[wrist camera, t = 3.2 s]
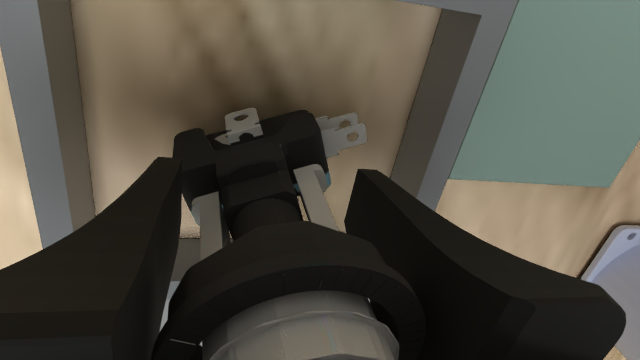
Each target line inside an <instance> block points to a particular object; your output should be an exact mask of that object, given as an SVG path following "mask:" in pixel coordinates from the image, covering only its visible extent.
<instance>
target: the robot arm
mask: <svg viewBox="0 0 640 360" xmlns="http://www.w3.org/2000/svg"><path fill="white" fill-rule="evenodd" d="M181 196H182V158H166V157H158V158H157V159H156V160H154V161H153V163H152V164H151V165H150V166H149V167H148V168H147V170H146V171H145V172H144V173H143V174H142V175H141V176H140V177H139V178H138V179H137V180H136V181H135V182H134V183H133V184H132V185H131V186H130V187H129V188H128V189H127V190H126V191H125V192H124V193H123V194H122V195H121V196H120V197H119V198H117V199H116V200H115V201H114V202H113V203H112V204H110V205H109V206H108V207H107V208H106V209H104V210H103V211H102V212H101V213H100V214H98V215H97V216H96V217H94V218H93V219H92V220H90V221H89V222H88V223H86V224H85V225H83V226H82V227H80V228H79V229H77V230H76V231H74V232H73V233H71V234H69V235H68V236H66V237H64V238H62V239H60V240H59V241H57V242H55V243H53V244H52V245H50V246H48V247H46V248H45V249H43V250H41V251H39V252H37V253H35V254H33V255H31V256H29V257H27V258H25V259H23V260H21V261H19V262H17V263H14V264H12V265H10V266H8V267H6V268H3V269H1V270H0V360H151V355H152V351H153V347H154V344H155V341H156V339H157V337H158V334H159V333H160V327H161V321H162V316H163V311H164V307H165V303H166V298H167V294H168V290H169V285H170V281H171V277H172V273H173V268H174V264H175V260H176V255H177V251H178V245H179V235H180V225H181ZM344 223H345V228H346V233H347V234H349V235H352V236H355V237H358V238H361V239H364V240H367V241H369V242H371V243H372V244H373V245H374V246H375V248H376V249H377V251H378V252H379V254H380V256H381V257H382V259H383V260H384V262H385V263H386V265H387V266H389V267H391V268H392V269H394V270H395V271H397V272H398V273H399V274H400V275H401V276H402V277H403V278H405V279H406V281H407V282H408V283H409V285H410V286H411V287H412V289H413V291H414V293H415V295H416V296H417V298H418V300H419V302H420V304H421V306H422V308H423V311H424V314H425V320H426V333H425V338H424V342H423V345H422V348H421V351H420V353H419V355H418V357H417V359H416V360H603V359H604V357H605V356H606V355H607V354H608V353H609V351H610V350H611V349H612V348H613V347H614V346H615V347H616V348H617V349H618V351H619V352H620V353H621V354H622V355H623V356H624V357H625V358H626V360H640V226H639V225H622V226H619V227H617V228H616V229H614V231H613V232H612V233H611V235H610V236H609V238H608V239H607V241H606V242H605V243H604V245H603V246H602V248H601V249H600V251H599V252H598V254H597V255H596V257H595V258H594V260H593V261H592V262H591V264H590V265H589V267H588V268H587V270H586V271H585V273H584V274H583V276H582V277H581V279H578V278H575V277H571V276H568V275H565V274H562V273H559V272H556V271H553V270H550V269H547V268H545V267H542V266H539V265H537V264H534V263H531V262H529V261H526V260H524V259H522V258H519V257H517V256H514V255H512V254H510V253H508V252H506V251H503V250H501V249H499V248H497V247H495V246H493V245H491V244H489V243H487V242H485V241H483V240H481V239H479V238H477V237H475V236H473V235H472V234H470V233H468V232H466V231H465V230H463V229H461V228H459V227H458V226H456V225H454V224H453V223H451V222H450V221H448V220H447V219H445V218H443V217H442V216H440V215H439V214H437V213H436V212H434V211H433V210H432V209H430V208H429V207H427V206H426V205H425V204H423V203H422V202H420V201H419V200H418V199H416V198H415V197H414V196H412V195H411V194H410V193H408V192H407V191H406V190H404V189H403V188H402V187H400V186H399V185H398V184H396V183H395V182H394V181H392V180H391V179H390V178H388V177H387V176H385V175H384V174H382V173H381V172H379V171H377V170H369V169H358V171H357V175H356V178H355V182H354V186H353V190H352V194H351V197H350V201H349V205H348V209H347V213H346V217H345V220H344ZM369 300H371V299H369Z"/></svg>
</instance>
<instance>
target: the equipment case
mask: <svg viewBox="0 0 640 360" xmlns="http://www.w3.org/2000/svg"><path fill="white" fill-rule="evenodd" d="M396 1H402V2H408V3H414V4H420V5H426V6H431V7H437V8H443V10H442V13H441V17H440V20H439V23H438V26H437V29H436V33H435V36H434V39H433V42H432V46H431V49H430V52H429V55H428V58H427V62H426V65H425V68H424V71H423V74H422V78H421V81H420V84H419V87H418V90H417V94H416V97H415V100H414V103H413V107H412V110H411V113H410V116H409V119H408V123H407V126H406V129H405V132H404V135H403V139H402V142H401V145H400V148H399V151H398V155H397V158H396V161H395V164H394V168H393V171H392V174H391V177H390V179H391V180H392V181H394V182H395V183H396V184H398V185H399V186H400V187H402V188H403V189H404V190H406V191H407V192H408V193H410V194H411V195H412V196H414V197H415V198H416V199H418V200H419V201H420V202H422V203H423V204H425V205H426V206H427V207H429V208H430V209H432V210H433V211H434V212H435V209H436V207H437V204H438V202H439V199H440V197H441V194H442V192H443V189H444V186H445V184H446V181H447V179H448V176H449V174H450V171H451V169H452V166H453V164H454V161H455V159H456V156H457V153H458V151H459V148H460V146H461V143H462V141H463V138H464V136H465V133H466V131H467V128H468V126H469V123H470V121H471V118H472V115H473V113H474V110H475V108H476V105H477V103H478V100H479V98H480V95H481V93H482V90H483V88H484V85H485V83H486V80H487V77H488V75H489V72H490V70H491V67H492V65H493V62H494V60H495V57H496V55H497V52H498V50H499V47H500V44H501V42H502V39H503V37H504V34H505V32H506V29H507V27H508V24H509V22H510V19H511V17H512V14H513V12H514V9H515V6H516V4H517V1H518V0H396ZM0 47H1V52H2V56H3V61H4V66H5V71H6V75H7V80H8V85H9V90H10V94H11V99H12V104H13V109H14V114H15V118H16V123H17V128H18V133H19V137H20V142H21V147H22V152H23V156H24V161H25V166H26V171H27V176H28V180H29V185H30V190H31V195H32V199H33V204H34V209H35V214H36V218H37V223H38V228H39V233H40V237H41V242H42V247H43V249H45V248H46V247H48V246H50V245H52V244H53V243H55V242H57V241H59V240H60V239H62V238H64V237H66V236H68V235H69V234H71V233H73V232H74V231H76V230H77V229H79V228H80V227H82V226H83V225H85V224H86V223H88V222H89V221H90V220H92V219H93V218H94V217H95V209H94V201H93V192H92V184H91V176H90V167H89V159H88V151H87V142H86V134H85V125H84V117H83V109H82V100H81V92H80V84H79V75H78V67H77V59H76V50H75V42H74V33H73V25H72V17H71V8H70V0H0ZM232 242H233V239H230V243H232ZM199 261H201V258H200V239H179V245H178V251H177V255H176V260H175V264H174V268H173V273H172V277H171V281H170V285H169V290H168V294H167V298H166V303H165V307H164V311H163V316H162V321H161V327H160V331H161V329H162V328H163V326H164V324H165V323H166V322H167V319H168V305H169V301H170V299H171V297H172V295H173V294H174V292H175V290H176V288H177V287H178V285H179V283H180V281H181V279H182V278H183V276H184V274H185V272H186V271H187V270H188V269H189V268H190V267H191V266H193V265H194V264H196V263H198V262H199ZM368 300H369V298H368ZM369 302H370V300H369ZM200 345H201V346H202V342H201V343H200Z"/></svg>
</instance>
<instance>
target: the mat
mask: <svg viewBox="0 0 640 360" xmlns="http://www.w3.org/2000/svg"><path fill="white" fill-rule="evenodd" d="M639 140H640V0H518V1H517V4H516V6H515V9H514V12H513V14H512V17H511V19H510V22H509V24H508V27H507V29H506V32H505V34H504V37H503V39H502V42H501V44H500V47H499V50H498V52H497V55H496V57H495V60H494V62H493V65H492V67H491V70H490V72H489V75H488V77H487V80H486V83H485V85H484V88H483V90H482V93H481V95H480V98H479V100H478V103H477V105H476V108H475V110H474V113H473V115H472V118H471V121H470V123H469V126H468V128H467V131H466V133H465V136H464V138H463V141H462V143H461V146H460V148H459V151H458V153H457V156H456V159H455V161H454V164H453V166H452V169H451V171H450V174H449V176H448V179H459V180H478V181H497V182H515V183H534V184H552V185H571V186H590V187H608V188H609V187H610V185H611V184H612V182H613V181H614V179H615V178H616V176H617V174H618V173H619V171H620V170H621V168H622V167H623V165H624V163H625V162H626V160H627V159H628V157H629V156H630V154H631V152H632V151H633V149H634V148H635V146H636V145H637V143H638V141H639Z"/></svg>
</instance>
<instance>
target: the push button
mask: <svg viewBox="0 0 640 360" xmlns="http://www.w3.org/2000/svg"><path fill="white" fill-rule="evenodd" d="M240 116H248V117H247V118H246V119H244V120H241V121H235V119H236V118H237V117H240ZM344 120H348V121H349V122H350V126H349V127H345V128H340V123H341V122H342V121H344ZM225 124H226V130H225V131H221V132H218V133H214V134H210V135H207V136H206V135H205V133H204V131H203V129H201V128H195V129H191V130H188V131H184V132H181V133H179V134H177V135H176V136H175V138H174V147H173V157H172V158H182V194H183V197H184V199H185V201H186V203H187V205H188V207H189V209H190V211H191V213H192V215H193V217H194V219H195V221H196V223H197V224H198V225H199V226H200V258H201V261H199V262H198V263H196V264H194V265H193V266H191V267H190V268H189V269H188V270H187V271H186V272H185V274H184V276H183V278H182V279H181V281H180V283H179V285H178V287H177V288H176V290H175V292H174V294H173V295H172V297H171V299H170V301H169V305H168V319H167V322H166V323H165V324H164V326H163V328H162V329H161V331H160V333H159V334H158V337H157V339H156V341H155V344H154V347H153V351H152V355H151V360H416V359H417V357H418V355H419V353H420V351H421V348H422V345H423V342H424V338H425V333H426V320H425V314H424V311H423V308H422V306H421V304H420V302H419V300H418V298H417V296H416V295H415V293H414V291H413V289H412V287H411V286H410V285H409V283H408V282H407V281H406V279H405V278H403V277H402V276H401V275H400V274H399V273H398V272H397V271H395V270H394V269H392V268H391V267H389V266H387V265H386V263H385V262H384V260H383V259H382V257H381V256H380V254H379V252H378V251H377V249H376V248H375V246H374V245H373V244H372V243H371V242H369V241H367V240H364V239H361V238H358V237H355V236H352V235H349V234H346V233H343V232H340V231H339V229H338V227H337V225H336V222H335V220H334V218H333V215H332V213H331V210H330V208H329V206H328V203H327V201H326V199H325V196H324V194H323V192H325V191H326V189H327V188H328V187H329V186H330V184H331V180H330V175H329V170H328V165H327V160H326V158H328V157H332V156H335V155H339V153H338V151H340V150H343V149H347V148H350V147H354V146H357V145H361V144H364V143H366V142H367V133H366V125H365V124H364V123H358V116H357V113H355V112H351V113H348V114H344V115H340V116H337V117H333V118H330V119H328V117H327V115H326V116H323V117H319V118H314V116H313V114H311V113H309V112H308V111H306V110H299V111H295V112H291V113H288V114H284V115H280V116H277V117H273V118H269V119H266V120H262V121H259V118H258V115H257V111H256V108H247V109H244V110H240V111H236V112H233V113H229V114H228V115H226V116H225ZM354 132H357V133H358V136H357V138H356V139H355V140H354V141H349V140H347V135H348V134H350V133H354ZM297 196H300V197H301V200H302V203H303V206H304V208H305V211H306V214H307V217H308V220H309V221H303V218H302V214H301V210H300V206H299V202H298V199H297ZM229 231H230V234H231V236H232V238H233V242H232V243H230V235H229ZM368 298H369V299H371V300H370V302H369V300H368ZM201 342H202V346H201V345H200V343H201Z"/></svg>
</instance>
